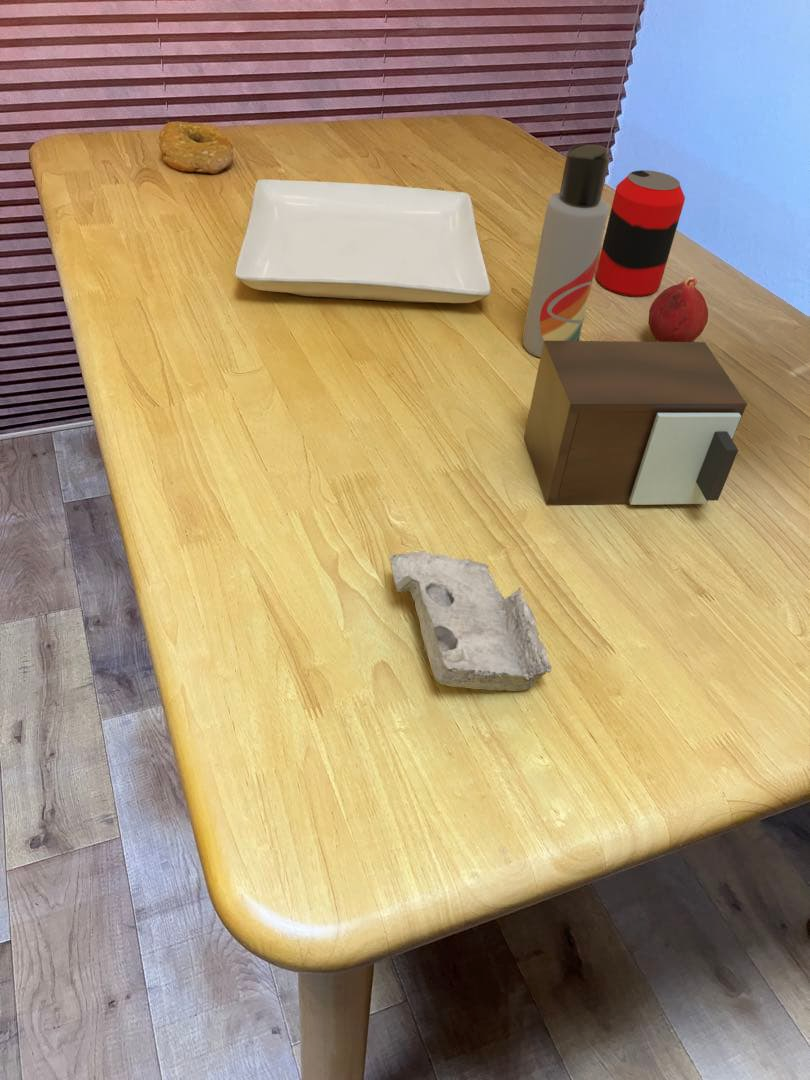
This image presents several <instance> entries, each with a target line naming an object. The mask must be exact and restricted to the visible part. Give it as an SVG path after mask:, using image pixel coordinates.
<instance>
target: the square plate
mask: <svg viewBox="0 0 810 1080" xmlns="http://www.w3.org/2000/svg"><path fill="white" fill-rule="evenodd" d="M474 211H475V210H474V206H473V202H472V197H471V196H470V194H469V193H467V192H464V191H452V190H443V189H430V188H421V187H411V186H398V185H388V184H387V185H386V184H373V183H371V184H370V183H358V182H342V181H341V182H338V181H334V182H333V181H316V180H315V181H313V180H289V179H288V180H286V179H264V178H263V179H262V178H261V179H258V180H257V181H256V183H255V186H254V189H253V196H252V202H251V208H250V212H249V219H248V222H247V226H246V230H245V234H244V237H243V241H242V244H241V247H240V251H239V254H238V258H237V262H236V264H235V269H234V277H235V278H236V279H237V280H238V281H240V282H241V283H243V284H244V285H246V286H247V287H249V288H251V289H254V290H257V291H263V292H266V291H267V292H275V293H276V292H277V293H289V294H292V295H295V296H302V297H315V298H333V299H353V300H372V301H385V302H386V301H387V302H402V303H417V304H428V303H443V304H444V303H445V304H469V303H474V302H475V303H476V302H478V301H480V300H482V299H484V298H486V297H488V296H490V294H491V291H492V289H491V282H490V279H489V273H488V271H487V267H486V263H485V259H484V256H483V252H482V251H483V250H482V248H481V242H480V239H479V238H480V237H479V235H478V230H477V225H476V224H477V223H476V219H475V212H474Z"/></svg>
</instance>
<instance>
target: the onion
mask: <svg viewBox="0 0 810 1080" xmlns="http://www.w3.org/2000/svg"><path fill="white" fill-rule="evenodd" d="M697 284H698V280H697V279H696V277H695V276H687V277H686V278H685V279H684V280H683V281H681V282H680V283H678V284H674V285H670V286H669V287H667V288H665V289H664V290H663V291H662V292H660V293H659V295H657V297H655V299H654V301H653V302H652V303H651V306H650V308H649V311H648V321H647V324H648V327H649V328H648V329H649V331H650V333H651V335H652V337H654V339H655V340H656V342H695V340H696V339H698V337H700V335H701V334H702V333H703V331H704V329H705V328H706V326H707V324H708V320H709V308H708V304H707V302H706V299H705V297H704V295H703V294H702V292H701V291H700V290H699V289H698V288H697V287H696V285H697Z"/></svg>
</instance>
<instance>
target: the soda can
mask: <svg viewBox="0 0 810 1080" xmlns="http://www.w3.org/2000/svg"><path fill="white" fill-rule="evenodd" d="M680 184H681V183H680V181H679V180H678V179H677V178H676V177H674V176H672V175H670V174H667V173H664V172H660V171H657V170H656V171H655V170H649V169H648V170H647V169H646V170H643V169H641V170H634V171H631V172H629V173H628V175H626V177H625V178H623V179H622V180H621V181H620V182H619V183H618V184H617V185H616V186H615V190H614V191H615V192H614V194H613V199H612V204H611V207H610V213H609V217H608V220H607V224H606V225H607V226H606V228H605V229H606V230H605V232H604V233H605V234H604V237H603V243H602V247H601V250H600V255H599V258H598V259H599V260H598V262H597V263H598V264H597V268H596V272H595V277H596V280H597V281H598V283H599V284H600V285H601V286H602V287H603V288H604V289H606V290H607V291H610V292H612V293H615V294H618V295H621V296H626V297H646V296H649V295H651V294H653V293H655V292H656V291H658V290H659V289H660V287H661V284H662V281H663V277H664V274H665V270H666V266H667V263H668V260H669V256H670V253H671V249H672V245H673V243H674V238H675V236H676V232H677V228H678V224H679V222H680V218H681V214H682V211H683V208H684V204H685V201H686V197H685V194H684V191H683V189H682V187H681V185H680Z"/></svg>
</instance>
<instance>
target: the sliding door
mask: <svg viewBox="0 0 810 1080" xmlns="http://www.w3.org/2000/svg"><path fill="white" fill-rule="evenodd" d="M740 418H741V415H740V413H657V415H656V418H655V421H654V424H653V428H652V431H651V434H650V437H649V440H648V443H647V446H646V449H645V453H644V456H643V459H642V462H641V465H640V468H639V471H638V474H637V477H636V481H635V484H634V487H633V490H632V493H631V496H630V499H629V502H630V504H629V505H630V506H638V505H646V506H647V505H648V506H649V505H697V504H698V505H706V504H707V503H708V502H710V501H719V499H720V496H721V494H722V492H723V489H724V488H725V487H724V486H725V485H726V482H727V479H728V477H729V475H730V472H731V471H732V468H733V465H734V462H735V460H736V458H737V455H738V453H739V448H738V447H737V445H736V443H735V442H734V438H733V436H734V433H735V431H736V428H737V426H738V423H739V421H740ZM741 419H742V418H741ZM740 422H741V421H740ZM739 424H740V423H739ZM738 427H739V426H738ZM737 429H738V428H737ZM736 432H737V431H736ZM735 434H736V433H735ZM734 437H735V436H734ZM732 438H733V440H732ZM707 501H708V502H707Z"/></svg>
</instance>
